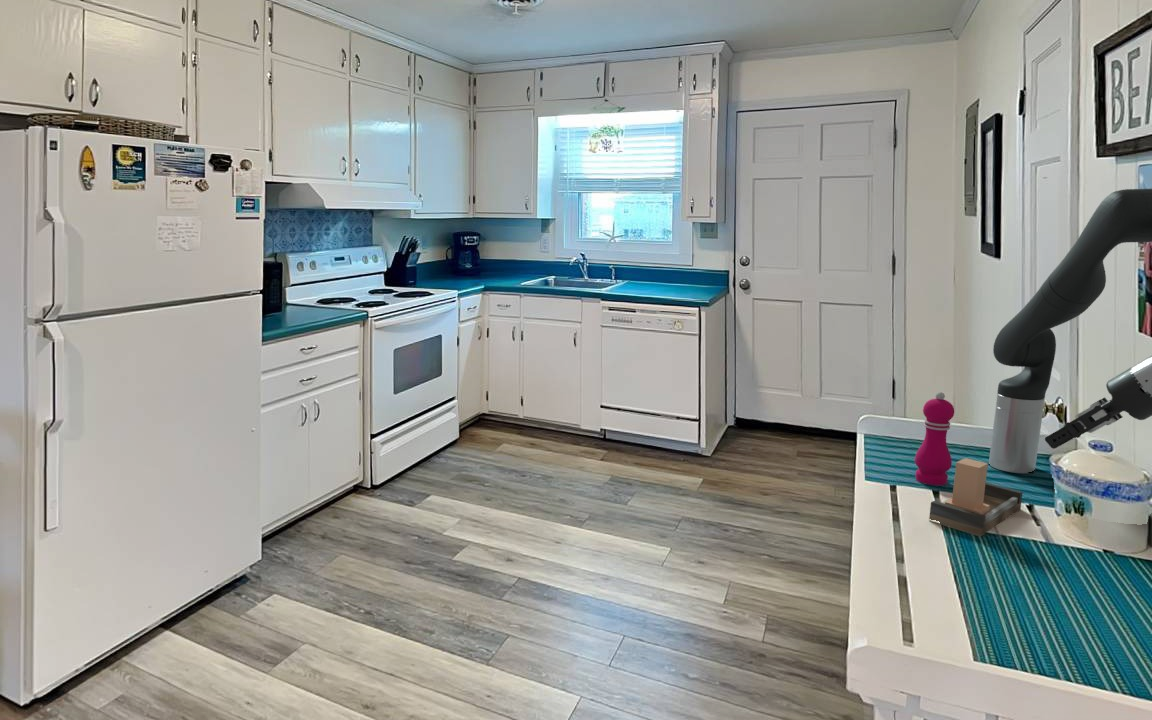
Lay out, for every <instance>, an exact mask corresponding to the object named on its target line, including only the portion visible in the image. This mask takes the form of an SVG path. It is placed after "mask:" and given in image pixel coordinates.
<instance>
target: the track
mask: <svg viewBox="0 0 1152 720" xmlns="http://www.w3.org/2000/svg"><path fill="white" fill-rule="evenodd" d="M1023 493H1024V492H1023V491H1022V490H1021V491H1020V490H1017V489H1014V488H1009V487H1005V486H1001V485H998V484H994V483H989V482H986V484H985V492H984V500H983V504H987V505H990V508H989V512H988V513H987V514H985V515H982V514H979V513H975V512H972V511H968V510H965V509H961V508H958V507H954V506H951V505H947V504H945V502H946V501H948V500H950V499H951V498H952V496H951V497H949V498H947V499H946V500H944V501H942V502H939V501H936V500H933V501H931V502H930V507H929V508H930V509H929V517H928V520H929V519H931V520H936V521H939V522H940V524H939V525H942V526H944V527H948V528H951V529H954V530H957V531H960V532H964V533H967V534H970V535H972V536H973V535H974V536H977V537H980V538H981V537H982V536H984V535H985V534H987V533H988V532H990V531H991V530H993V529H994V528H995V527H997V526H999V524H1002V523H1003V522H1005V521H1006V520H1007V519H1009V518H1010V517H1011V516H1013V515H1014V514H1017V513H1018V512H1019V511H1021V508H1022V500H1023Z"/></svg>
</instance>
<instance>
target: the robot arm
mask: <svg viewBox="0 0 1152 720" xmlns="http://www.w3.org/2000/svg"><path fill="white" fill-rule="evenodd" d="M1123 243H1152V188H1133V189H1132V188H1125V189H1120V190H1116V191H1114V192H1111V193H1110V194H1108V195H1107V196H1105V197H1104V199H1102V201H1101V202H1100V203H1099V205H1098V206H1097V208H1096V209H1095V211H1094V212H1093V213H1092V215H1091V216H1090V219H1089V220H1088V222H1087V223H1086V225H1085V227H1084V228H1083V230H1082V232H1081V233H1080V235H1079V236H1078V238H1077V240H1076V241H1075V243H1074V244H1073V246H1072V247H1071V248H1070V249H1069V250H1068V252H1067V254H1065V256H1064V257H1063V259H1062V260H1061V261H1060V262H1059V264H1058V265H1057V266H1056V267H1055V268H1054V269H1053V270H1052V272H1051V273H1050V274H1049V275H1048V276H1047V278H1046V279H1045V280H1044V281H1043V283H1042V284H1041V286H1040V287H1039V289H1038V290H1037V291H1036V293H1035V294H1034V295H1033V296H1032V298H1030V300H1029V301H1028V302H1027V303H1026V304H1025V305H1024V307H1023V308H1022V309H1020V311H1019V312H1018V313H1016V314H1015V316H1013V317H1012V319H1010V320H1009V321H1008V322H1007V323H1006V324H1005V325H1004V326H1003V327H1002V328H1001V329H1000V331H999V332H998V334H997V335H996V337H995V339H994V343H993V347H992V348H993V356H994V358H995V360H996V361H997V362H998V363H999V364H1001V365H1002V366H1003V365H1004V366H1009V367H1017V368H1019V367H1021V368H1023V367H1024V368H1023V369H1022V371H1020V373H1017V374H1016V375H1013V376H1010V377H1008V378H1005V379H1003V380H1001V381H1000V382H999V383H998V387H997V393H996V394H997V395H996V402H995V403H996V404H995V410H994V411H995V413H994V420H993V427H992V435H991V444H990V451H989V459H988V465H989V464H990V465H989V466H991V468H994V469H997V470H999V471H1003V472H1007V473H1015V474H1029V473H1028V472H1032V471H1034V470H1035V471H1036V466H1037V457H1038V451H1039V443H1040V437H1041V436H1040V435H1041V428H1042V423H1043V422H1042V420H1043V416H1044V405H1045V398H1046V394H1047V393H1046V392H1047V390H1048V388H1049V387H1050V386H1049V385H1050V381H1051V376H1052V371H1053V366H1054V361H1055V356H1056V353H1057V351H1056V349H1057V340H1056V336H1055V333H1054V332H1053V330H1052V329H1053V328H1055V327H1057V326H1061V325H1062V324H1065V323H1067V322H1070V321H1072V320H1073V319H1075V318H1077V317H1079V316H1080V315H1081V314H1083V313H1084V312H1085V311H1086V310H1087V309H1089V307H1091V306H1092V305H1093V303H1095V301H1096V300H1097V299H1098V298H1099V297H1100V296H1101V294H1102V293H1103V292H1104V290H1105V287H1106V282H1107V275H1106V269H1105V265H1104V260H1105V258H1106V257H1107V256H1108V255H1109V254H1110V252H1111V251H1112V250H1113V249H1114V248H1116V247H1117V246H1118V245H1121V244H1123ZM1105 386H1106V389H1107V391H1108V394H1110V396H1111V398H1110V400H1108V399H1107V398H1106V397H1103V398H1101V399H1099V400H1097V401H1095V402H1094V403H1092V404H1090V406H1089V407H1087V408H1085V409H1084V410H1082V411H1081V412H1079V413H1077V414H1076V415H1075V416H1074V417H1075V419H1073V420H1071V421H1068V422H1066V423H1065V424H1064V425H1063V426H1062V427H1061V428H1060V429H1058V430H1056V431H1054V432H1053V433H1051V434H1049V435H1048V436H1047V435H1046V437H1045V438H1044V441H1045V442H1046V443H1047V445H1048V446H1049V447H1050V448H1052V449H1057V448H1059V447H1060V446H1063V445H1065V444H1066V443H1068V442H1070V441H1071V440H1074V439H1078V438H1080V437H1081V435H1084V434H1085V433H1090V434H1092V433H1094V432H1096V431H1098V430H1099V429H1102V428H1103V427H1105V426H1110V425H1112V424H1113V423H1115V422H1117V421H1119V420H1120V419H1122V418H1123V415H1122V414H1121V413H1122V412H1125V413H1127V414H1128V415H1129V416H1131V418H1134V419H1136V420H1139V421H1145V420H1146V419H1148V418H1150V417H1152V355H1150V356H1148V357H1146V358H1145V359H1142V360H1141V361H1139V362H1138V363H1136V364H1134V365H1133V366H1131V367H1129V368H1127V369H1126V370H1124V371H1122V372H1121V373H1119V374H1118V375H1116V376H1114V377H1112V378H1111V379H1109V380H1108V381H1107V382H1106V385H1105ZM1035 471H1034V472H1035Z"/></svg>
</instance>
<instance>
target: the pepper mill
mask: <svg viewBox="0 0 1152 720" xmlns="http://www.w3.org/2000/svg"><path fill="white" fill-rule="evenodd" d="M945 397H946V396H945V393H943V392H942V391H939V392H936V393H935V398H931V399H929V400H927V401H926V402H925V403H924V405H923V409H922V412H923V413H922V414H923V416H924V417H925V419H924V424H923V426H924V428H925V436H924V438H923V441H922V443H921V445H920V446H919V448H918V449H917V451H916V453H915V457H914V463H915V465H916V466H917V469H916V470H915V480H916V481H917V482H920V483H922V484H926V485H930V486H945V485H946V484H947V483H948V474H947V473H946V472H948V471H949V470H951V468H952V462H953V461H952V456H951V453H950V450H949V447H948V444H947V434H948V431H949V430H950V428H951V426H950V425H951V422H950V421H951V420H952V419H953V417H954V416H955V407H954V405H953V404H952V403H951V402H950V401H948V400H946V399H945Z"/></svg>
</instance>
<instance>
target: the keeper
mask: <svg viewBox="0 0 1152 720" xmlns="http://www.w3.org/2000/svg"><path fill="white" fill-rule="evenodd" d="M988 466H989V462H988V463H987V462H983V461H979V460H975V459H970V458H966V457H965V458H964V457H963V458H962V459H960V460H958V461H957V462H955V470H954V471H955V472H954V478H953V480H954V481H953V487H952V488H953V489H952V496H951V497H952V498H951V497H950V498H951V499H950V500H948V501H946V502H945V504H947V505H951V506H954V507H958V508H961V509H965V510H968V511H972V512H975V513H979V514H982V515H985V514H987V513H988V512H989V508H990V505H987V504H983V500H984V492H985V484H986V483H987V475H988V468H989V467H988Z"/></svg>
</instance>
